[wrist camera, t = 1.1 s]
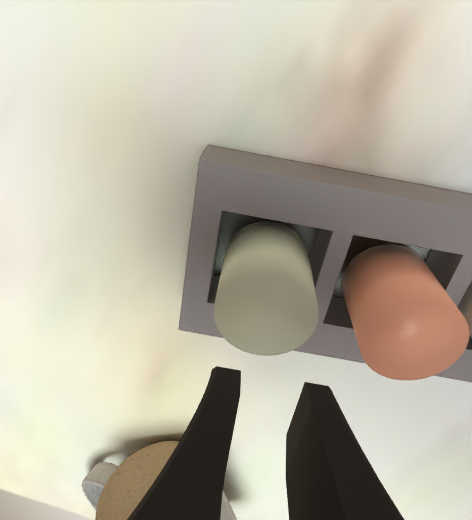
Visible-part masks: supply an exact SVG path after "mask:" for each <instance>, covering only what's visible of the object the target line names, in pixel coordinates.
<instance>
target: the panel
mask: <svg viewBox="0 0 472 520" xmlns="http://www.w3.org/2000/svg"><path fill="white" fill-rule="evenodd" d="M224 211H227V212H232V213H238V214H243V215H249V216H254V217H260V218H265V219H270V220H276V221H281V222H287V223H292V224H298V225H303V226H308V227H314V228H319V232H318V235H317V238H316V242H315V245H314V248H313V252H312V255H311V259H310V266H311V271H312V277H313V282H314V287H315V292H316V298H317V303H318V308H319V318H318V323H317V326H316V328H315V330H314V332H313V334H312V335H311V336H310V338H309V339H308V340H307V341H306V342H305V343H303V344H302V345H301V346H299V347H297V348H296V349H294V351H300V352H305V353H311V354H317V355H322V356H328V357H333V358H339V359H345V360H350V361H356V362H361V363H365V361H364V359H363V357H362V355H361V352H360V348H359V345H358V342H357V338H356V335H355V332H354V328H353V325H352V322H351V318H350V315H349V312H348V308H347V305H346V302H345V298H339V297H334V296H332V295H333V292H334V289H335V286H336V283H337V281H338V278H339V275H340V272H341V269H342V266H343V263H344V260H345V257H346V255H347V252H348V249H349V246H350V243H351V240H352V237H353V235H357V236H363V237H368V238H374V239H379V240H384V241H390V242H395V243H401V244H406V245H412V246H417V247H423V248H428V249H431V251H430V253H429V255H428V257H427V259H426V261H425V263H426V265H427V266H428V267H429V269H430V270H431V272H432V273H433V274H434V276H435V277H436V278H437V280H438V281H439V283H440V284H441V285H442V287H443V288H444V290H445V291H446V292H447V294H448V295H449V297H450V298H451V299H452V301H453V302H454V303H455V305H456V306H457V307H458V305H459V303H460V301H461V299H462V297H463V296H464V294H465V292H466V290H467V288H468V286H469V285H470V283H471V281H472V194H468V193H463V192H457V191H452V190H447V189H441V188H436V187H431V186H425V185H420V184H415V183H409V182H404V181H399V180H393V179H388V178H382V177H377V176H372V175H366V174H361V173H356V172H350V171H345V170H340V169H334V168H329V167H324V166H318V165H313V164H308V163H302V162H297V161H291V160H286V159H281V158H275V157H270V156H265V155H259V154H254V153H249V152H243V151H238V150H233V149H227V148H222V147H217V146H211V145H208V146H207V147H206V149H205V151H204V152H203V154H202V156H201V157H200V159H199V165H198V173H197V182H196V190H195V198H194V206H193V215H192V223H191V231H190V239H189V247H188V256H187V264H186V272H185V280H184V288H183V297H182V305H181V313H180V321H179V329H178V330H182V331H188V332H193V333H199V334H205V335H210V336H216V337H221V338H224V337H223V336H222V335H221V333H220V332H219V330H218V328H217V326H216V323H215V320H214V304H215V299H216V294H217V289H218V285H219V280H220V276H218V275H214V269H215V263H216V257H217V251H218V245H219V238H220V232H221V226H222V220H223V214H224ZM434 376H440V377H445V378H451V379H457V380H462V381H468V382H472V338H471V337H470V335H469V341H468V344H467V347H466V349H465V351H464V352H463V354H462V355H461V356H460V358H459V359H458V360H457V361H456V362H455V363H454V364H452V365H451V366H450V367H448V368H447V369H445V370H444V371H442V372H440V373H438V374H435V375H434Z"/></svg>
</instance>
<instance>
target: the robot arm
mask: <svg viewBox="0 0 472 520" xmlns="http://www.w3.org/2000/svg"><path fill="white" fill-rule="evenodd" d="M240 384H241V371H240V370H234V369H228V368H223V367H215V368H213V369H212V372H211V376H210V379H209V382H208V385H207V388H206V390H205V393H204V395H203V397H202V400H201V402H200V404H199V406H198V408H197V410H196V412H195V414H194V416H193V418H192V420H191V421H190V423H189V425H188V427H187V429H186V431H185V433H184V435H183V436H182V438H181V440H180V441H179V443H178V445H177V446H176V448H175V450H174V451H173V453H172V454H171V456H170V458H169V459H168V461H167V462H166V464H165V466H164V467H163V469H162V470H161V472H160V474H159V475H158V476H157V478H156V479H155V481H154V482H153V484H152V485H151V487H150V488H149V490H148V491H147V493H146V494H145V495H144V497H143V498H142V500H141V501H140V502H139V504H138V505H137V507H136V508H135V509H134V511H133V512H132V513H131V515H130V516H129V517H128V519H127V520H220V517H221V505H222V493H223V485H224V478H225V472H226V466H227V461H228V456H229V451H230V445H231V440H232V435H233V430H234V424H235V419H236V414H237V408H238V403H239V398H240ZM286 486H287V498H288V510H289V520H404V518H403V517H402V515H401V514H400V512H399V511H398V509H397V507H396V506H395V504H394V503H393V501H392V500H391V498H390V496H389V495H388V493H387V492H386V490H385V488H384V487H383V485H382V483H381V482H380V480H379V478H378V477H377V475H376V473H375V471H374V470H373V468H372V466H371V464H370V463H369V461H368V459H367V457H366V456H365V454H364V452H363V450H362V449H361V447H360V445H359V443H358V441H357V439H356V438H355V436H354V434H353V432H352V430H351V428H350V426H349V424H348V422H347V420H346V418H345V417H344V415H343V413H342V411H341V409H340V407H339V405H338V403H337V401H336V399H335V397H334V395H333V392H332V390H331V389H330V388H329V386H324V385H319V384H313V383H307V382H305V383H304V386H303V389H302V392H301V395H300V398H299V401H298V403H297V406H296V409H295V412H294V415H293V418H292V421H291V423H290V426H289V429H288V432H287V438H286Z"/></svg>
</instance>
